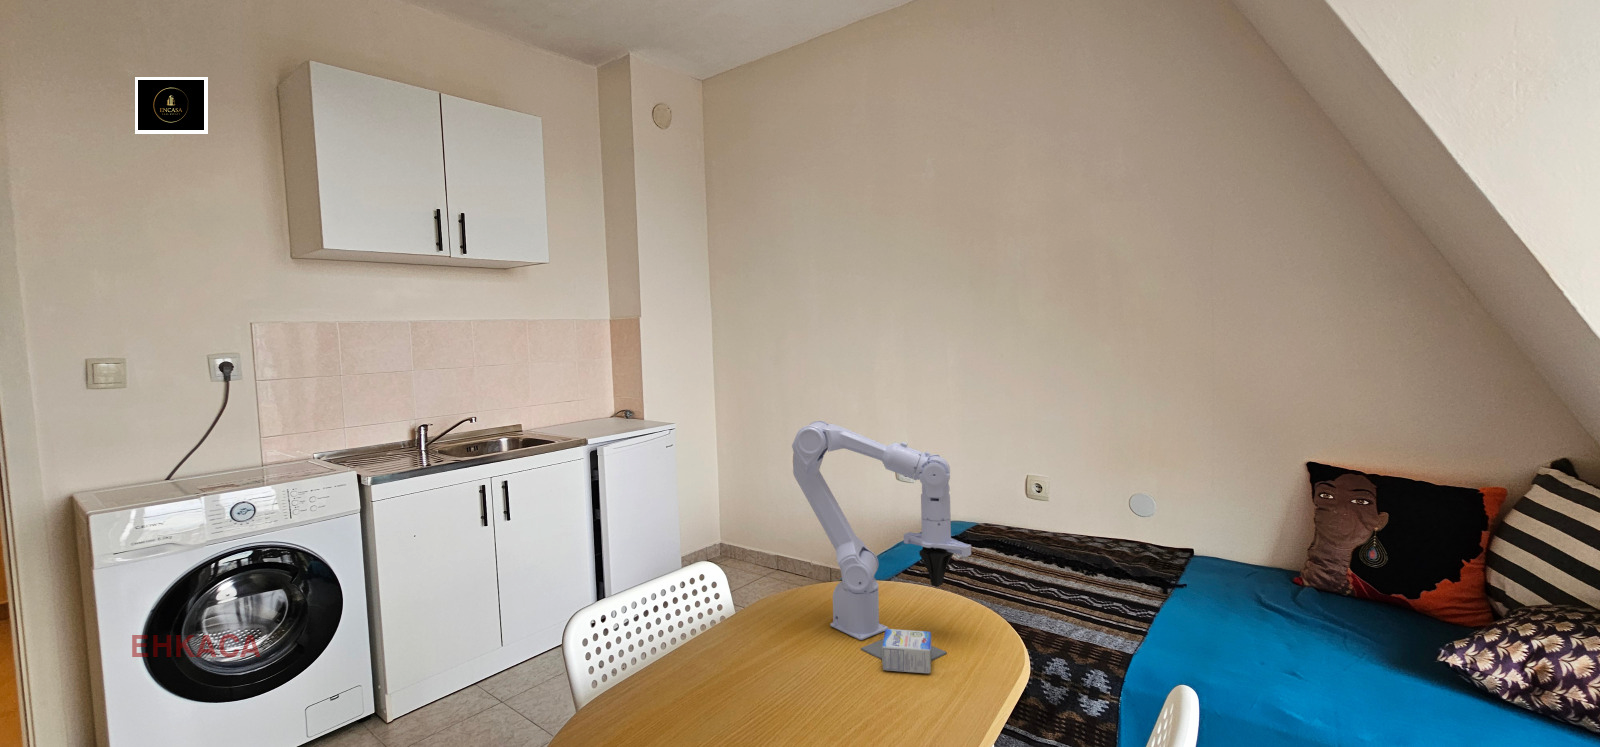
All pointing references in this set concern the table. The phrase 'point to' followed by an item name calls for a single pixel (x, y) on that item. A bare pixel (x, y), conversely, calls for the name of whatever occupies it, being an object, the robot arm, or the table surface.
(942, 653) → the gray mat
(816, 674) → the table surface
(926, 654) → the medicine box
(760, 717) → the table surface
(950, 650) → the table surface
